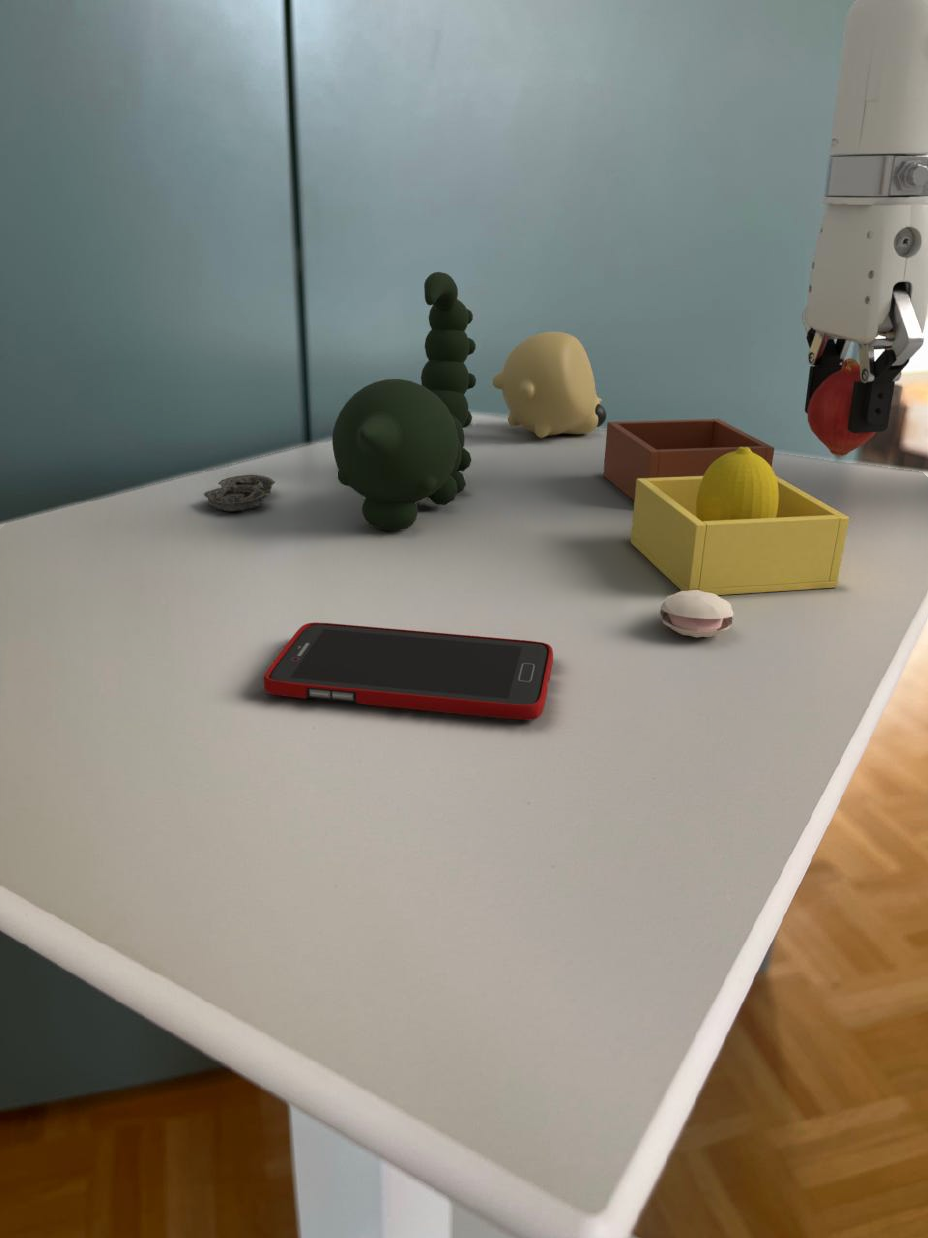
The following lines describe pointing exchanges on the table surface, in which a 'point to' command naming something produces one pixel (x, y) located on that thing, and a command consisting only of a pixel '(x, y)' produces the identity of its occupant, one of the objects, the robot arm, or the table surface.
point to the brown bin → (671, 449)
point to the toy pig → (550, 386)
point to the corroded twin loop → (240, 492)
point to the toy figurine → (412, 423)
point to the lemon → (738, 488)
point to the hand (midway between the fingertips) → (844, 419)
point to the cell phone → (414, 670)
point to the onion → (836, 411)
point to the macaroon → (696, 613)
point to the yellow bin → (738, 541)
